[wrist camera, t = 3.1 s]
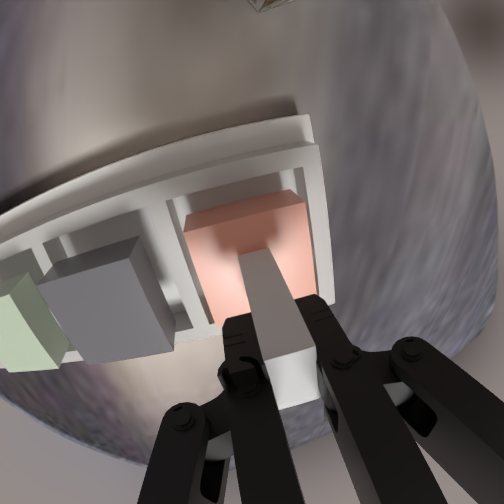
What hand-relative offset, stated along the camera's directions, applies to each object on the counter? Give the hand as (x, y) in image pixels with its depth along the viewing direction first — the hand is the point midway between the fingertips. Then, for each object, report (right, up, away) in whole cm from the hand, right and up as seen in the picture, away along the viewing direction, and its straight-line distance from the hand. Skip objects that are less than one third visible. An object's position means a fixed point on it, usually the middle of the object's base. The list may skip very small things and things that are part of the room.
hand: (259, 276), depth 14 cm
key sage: (-16, -3, +1) cm, 16 cm away
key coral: (0, +1, +2) cm, 3 cm away
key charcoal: (-8, -1, +1) cm, 8 cm away
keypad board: (-13, 0, +5) cm, 13 cm away
